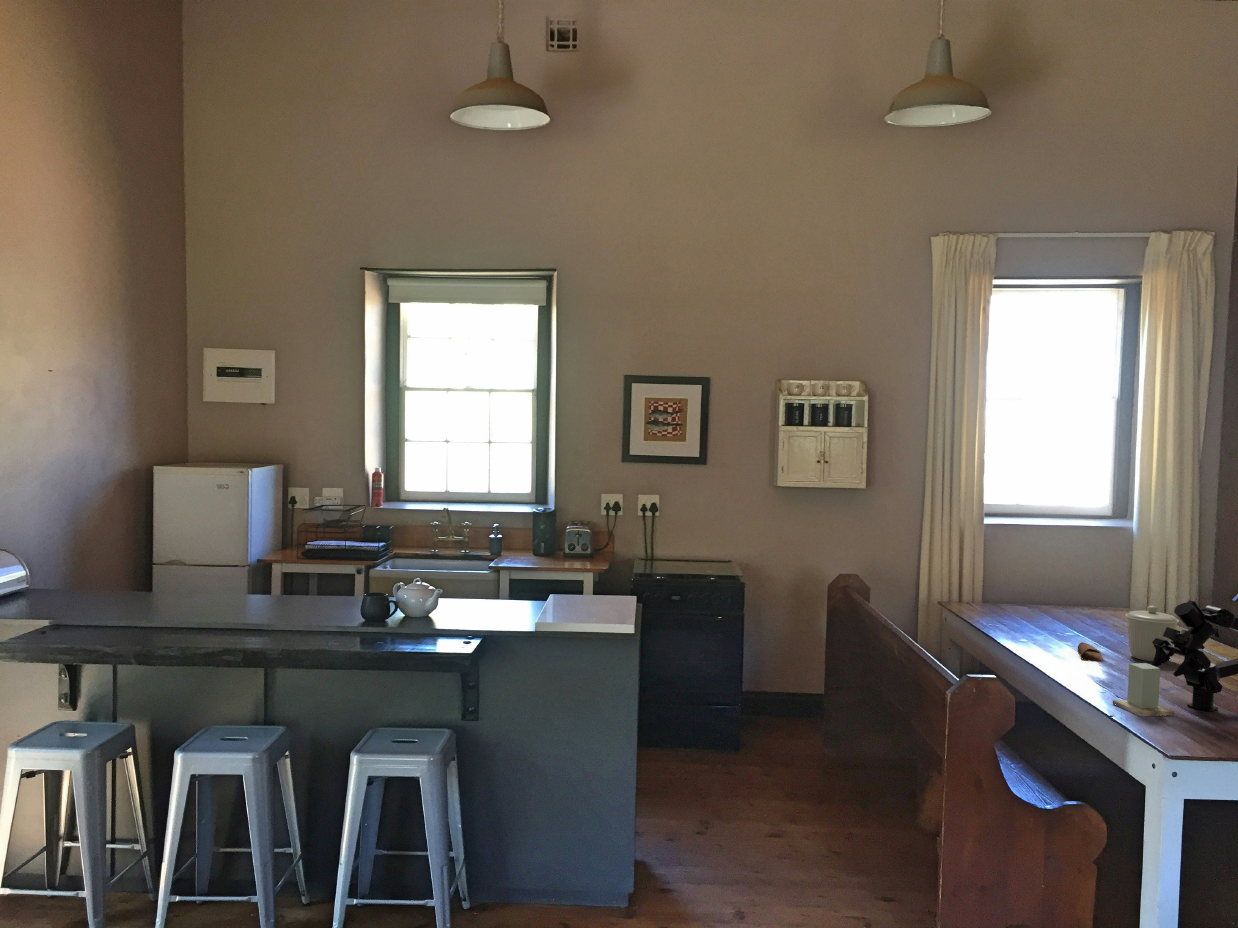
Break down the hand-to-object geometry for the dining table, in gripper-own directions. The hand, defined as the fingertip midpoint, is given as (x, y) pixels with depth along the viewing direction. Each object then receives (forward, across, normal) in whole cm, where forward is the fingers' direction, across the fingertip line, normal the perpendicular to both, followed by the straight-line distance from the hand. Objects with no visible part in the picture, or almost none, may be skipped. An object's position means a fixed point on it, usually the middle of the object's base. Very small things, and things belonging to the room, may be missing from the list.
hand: (1163, 671), depth 282 cm
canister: (-24, -58, +41) cm, 75 cm away
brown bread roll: (-8, -64, +26) cm, 70 cm away
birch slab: (+14, 0, +4) cm, 14 cm away
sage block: (+12, 0, +3) cm, 12 cm away
